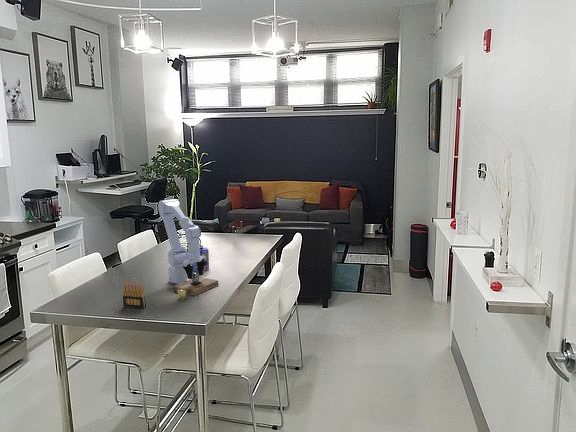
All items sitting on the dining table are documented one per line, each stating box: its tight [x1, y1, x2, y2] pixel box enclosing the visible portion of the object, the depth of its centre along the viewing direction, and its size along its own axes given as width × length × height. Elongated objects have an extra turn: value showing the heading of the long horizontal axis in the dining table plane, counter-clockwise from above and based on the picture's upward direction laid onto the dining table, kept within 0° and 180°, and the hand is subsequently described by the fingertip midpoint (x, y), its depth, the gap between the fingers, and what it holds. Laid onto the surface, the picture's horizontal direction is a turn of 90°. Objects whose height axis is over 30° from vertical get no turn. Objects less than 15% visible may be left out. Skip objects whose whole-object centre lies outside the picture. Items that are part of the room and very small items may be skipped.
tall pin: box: [192, 271, 200, 285], centre depth 235 cm, size 4×4×8 cm
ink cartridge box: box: [190, 245, 210, 272], centre depth 267 cm, size 10×6×14 cm, turn 111°
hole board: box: [172, 276, 219, 296], centre depth 236 cm, size 14×18×2 cm
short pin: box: [177, 289, 187, 301], centre depth 220 cm, size 4×4×4 cm
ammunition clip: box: [122, 280, 147, 309], centre depth 211 cm, size 11×2×12 cm, turn 74°
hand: (195, 276), depth 235 cm, fingers open, 7 cm apart
